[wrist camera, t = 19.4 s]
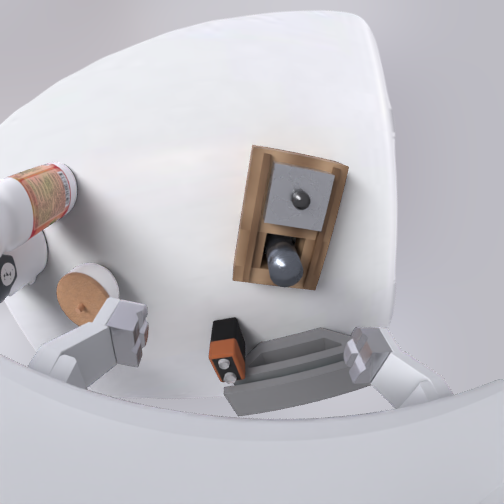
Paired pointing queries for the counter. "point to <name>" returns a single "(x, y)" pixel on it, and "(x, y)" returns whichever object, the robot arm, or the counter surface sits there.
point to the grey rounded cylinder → (282, 260)
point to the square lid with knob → (297, 196)
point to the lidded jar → (86, 292)
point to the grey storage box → (292, 373)
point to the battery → (227, 350)
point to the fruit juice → (34, 202)
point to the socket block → (255, 230)
